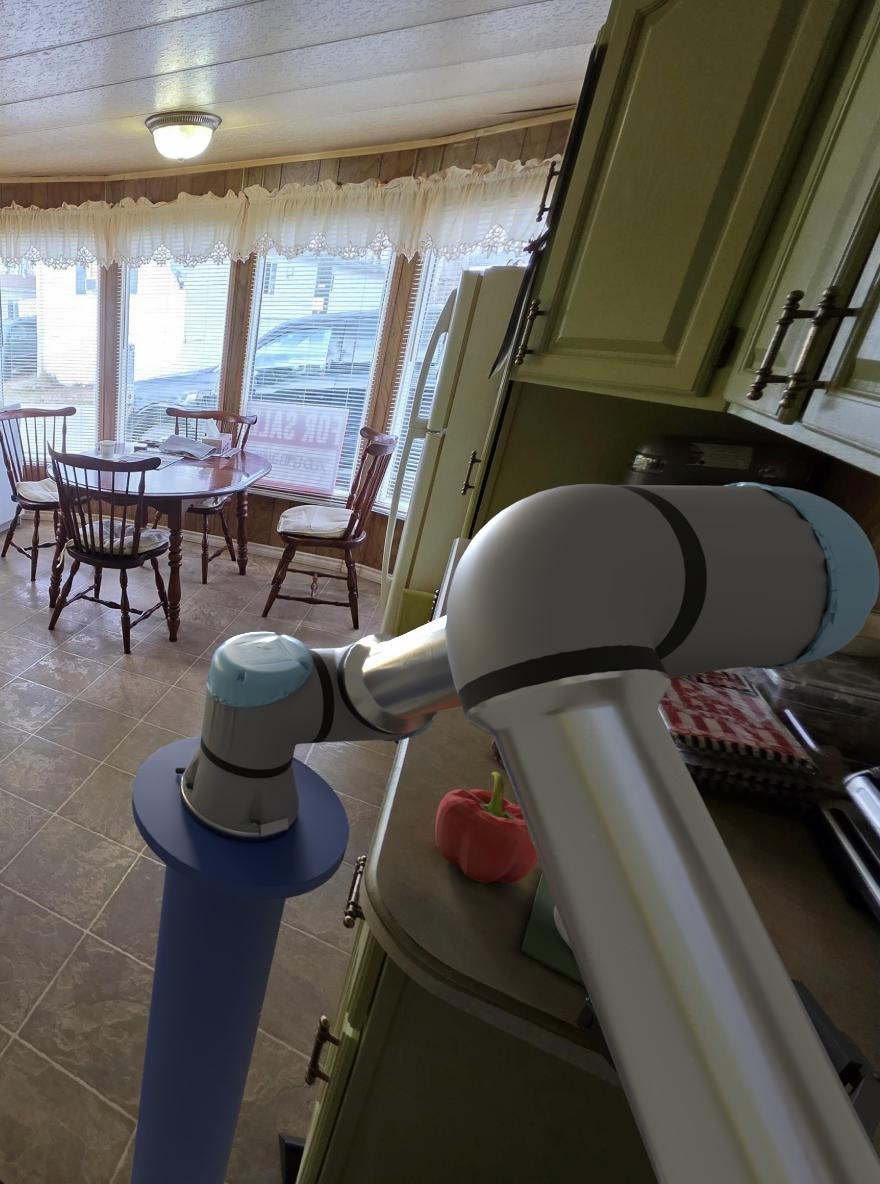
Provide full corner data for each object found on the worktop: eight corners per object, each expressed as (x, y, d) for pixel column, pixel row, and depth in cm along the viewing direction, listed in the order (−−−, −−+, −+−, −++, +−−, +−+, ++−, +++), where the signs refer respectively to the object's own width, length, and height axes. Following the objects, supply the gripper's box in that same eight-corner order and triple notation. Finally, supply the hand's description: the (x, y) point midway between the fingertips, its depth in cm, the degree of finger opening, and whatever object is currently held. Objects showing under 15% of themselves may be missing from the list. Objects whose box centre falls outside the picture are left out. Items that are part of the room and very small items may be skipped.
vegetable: (428, 816, 81) (448, 753, 77) (523, 848, 77) (550, 782, 73) (425, 876, 72) (447, 808, 68) (532, 916, 68) (563, 846, 64)
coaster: (520, 951, 64) (522, 949, 64) (541, 875, 73) (542, 872, 73) (691, 1044, 56) (693, 1041, 56) (690, 945, 65) (692, 943, 65)
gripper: (596, 1241, 40) (505, 948, 58) (1161, 1454, 33) (854, 1044, 52) (641, 1176, 37) (530, 889, 56) (1273, 1394, 30) (904, 982, 49)
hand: (686, 963), depth 54 cm, fingers open, 13 cm apart
